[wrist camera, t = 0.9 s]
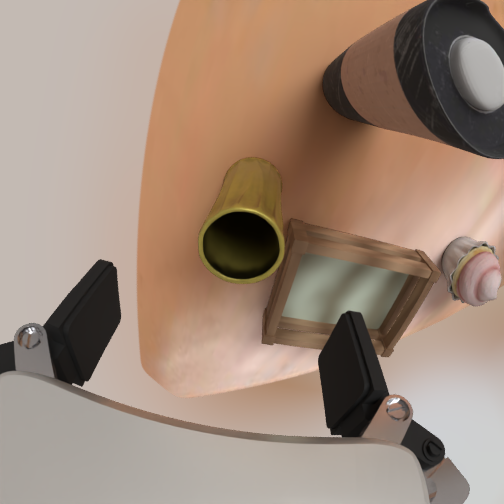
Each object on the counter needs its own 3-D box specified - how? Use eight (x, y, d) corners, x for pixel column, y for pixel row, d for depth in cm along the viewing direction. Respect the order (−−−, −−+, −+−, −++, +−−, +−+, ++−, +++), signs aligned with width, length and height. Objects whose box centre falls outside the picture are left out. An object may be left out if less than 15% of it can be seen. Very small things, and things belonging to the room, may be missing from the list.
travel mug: (332, 129, 26) (444, 176, 8) (309, 61, 22) (386, -20, 5) (396, 116, 24) (545, 153, 7) (376, 49, 21) (511, 4, 3)
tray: (423, 251, 32) (441, 272, 27) (379, 332, 38) (389, 357, 34) (290, 218, 31) (294, 239, 26) (262, 315, 38) (261, 343, 33)
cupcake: (453, 292, 35) (483, 335, 26) (421, 267, 33) (455, 314, 24) (488, 245, 30) (526, 282, 22) (461, 213, 29) (506, 249, 20)
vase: (213, 191, 30) (173, 257, 17) (246, 145, 27) (226, 178, 15) (259, 222, 31) (252, 305, 19) (293, 179, 29) (314, 240, 16)
